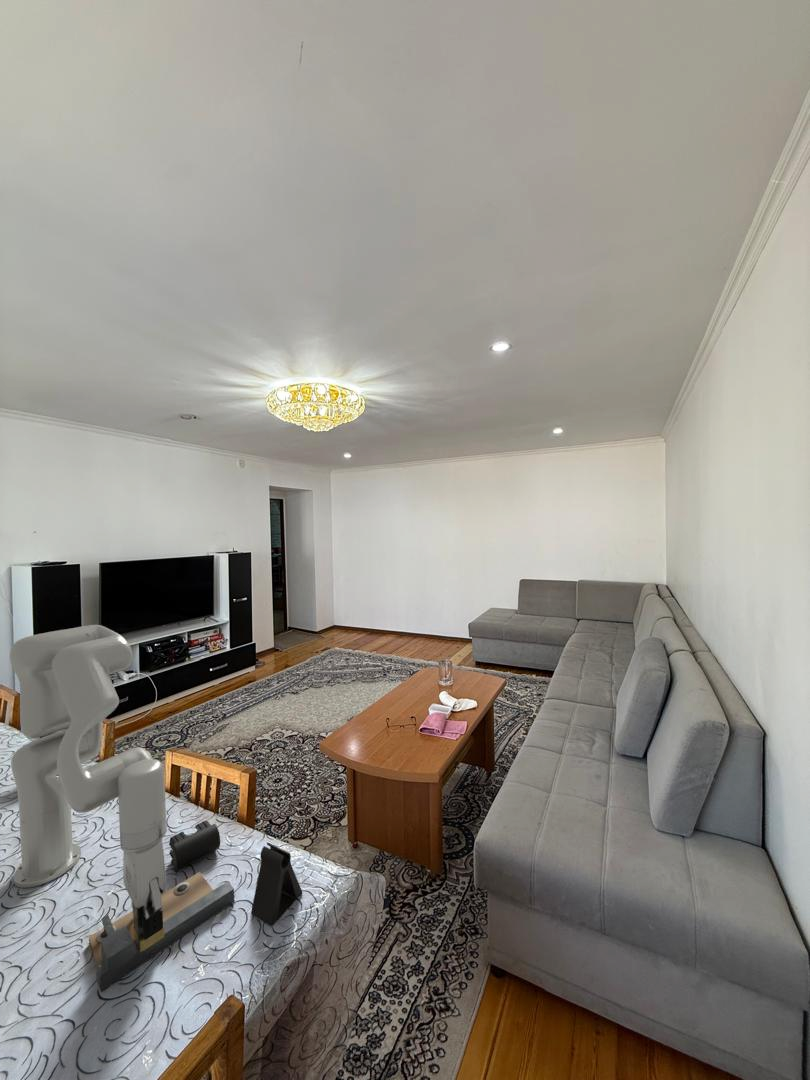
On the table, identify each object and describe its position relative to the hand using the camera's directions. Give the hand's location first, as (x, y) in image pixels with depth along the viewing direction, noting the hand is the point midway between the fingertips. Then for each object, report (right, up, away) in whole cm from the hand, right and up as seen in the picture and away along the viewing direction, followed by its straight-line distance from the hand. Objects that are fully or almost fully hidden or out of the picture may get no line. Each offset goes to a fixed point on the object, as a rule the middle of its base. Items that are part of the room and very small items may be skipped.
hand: (147, 922), depth 81 cm
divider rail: (0, -6, +5) cm, 8 cm away
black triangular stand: (+22, -5, +10) cm, 25 cm away
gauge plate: (-3, -6, +7) cm, 10 cm away
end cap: (-3, -6, +23) cm, 24 cm away
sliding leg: (-2, -4, +3) cm, 5 cm away
